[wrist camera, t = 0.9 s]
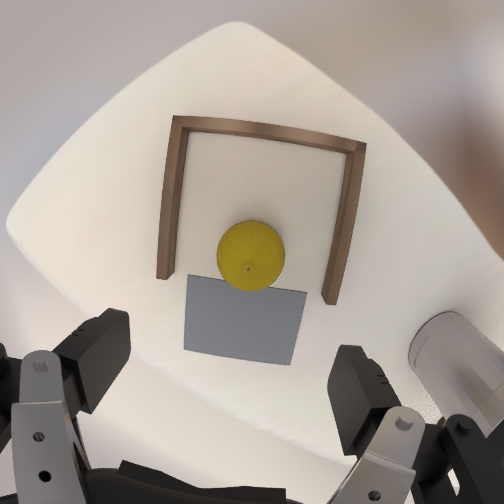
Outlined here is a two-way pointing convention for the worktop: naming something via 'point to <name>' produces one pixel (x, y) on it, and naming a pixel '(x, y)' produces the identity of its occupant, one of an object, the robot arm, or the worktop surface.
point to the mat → (242, 321)
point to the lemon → (250, 256)
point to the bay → (271, 132)
